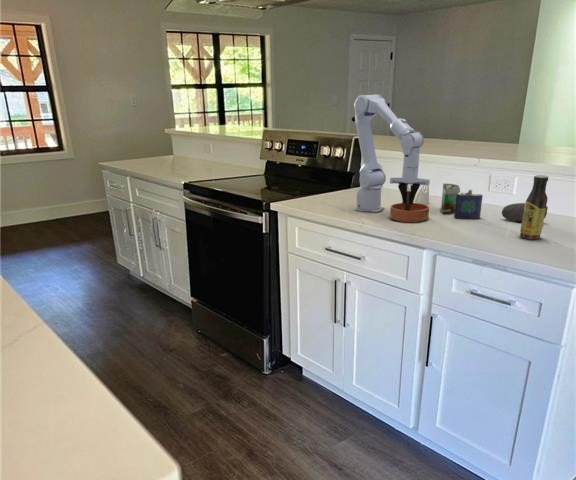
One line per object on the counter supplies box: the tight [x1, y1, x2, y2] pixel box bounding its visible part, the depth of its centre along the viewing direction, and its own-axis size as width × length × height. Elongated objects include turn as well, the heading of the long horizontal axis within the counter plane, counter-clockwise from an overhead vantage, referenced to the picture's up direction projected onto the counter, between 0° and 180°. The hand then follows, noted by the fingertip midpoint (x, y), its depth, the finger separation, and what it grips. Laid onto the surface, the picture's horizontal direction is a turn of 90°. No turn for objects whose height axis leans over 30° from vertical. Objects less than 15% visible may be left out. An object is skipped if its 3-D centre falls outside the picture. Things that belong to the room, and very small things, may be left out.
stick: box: [405, 191, 411, 211], centre depth 192 cm, size 2×2×8 cm
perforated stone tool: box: [501, 202, 549, 223], centre depth 182 cm, size 15×5×7 cm, turn 51°
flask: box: [454, 189, 483, 220], centre depth 188 cm, size 9×3×11 cm, turn 74°
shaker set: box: [400, 182, 430, 205], centre depth 215 cm, size 12×4×11 cm, turn 48°
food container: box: [440, 182, 461, 215], centre depth 199 cm, size 12×6×10 cm, turn 168°
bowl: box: [389, 202, 430, 223], centre depth 192 cm, size 14×14×4 cm
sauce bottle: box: [519, 174, 549, 240], centre depth 160 cm, size 7×6×20 cm
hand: (408, 203), depth 192 cm, fingers closed on stick, 2 cm apart
